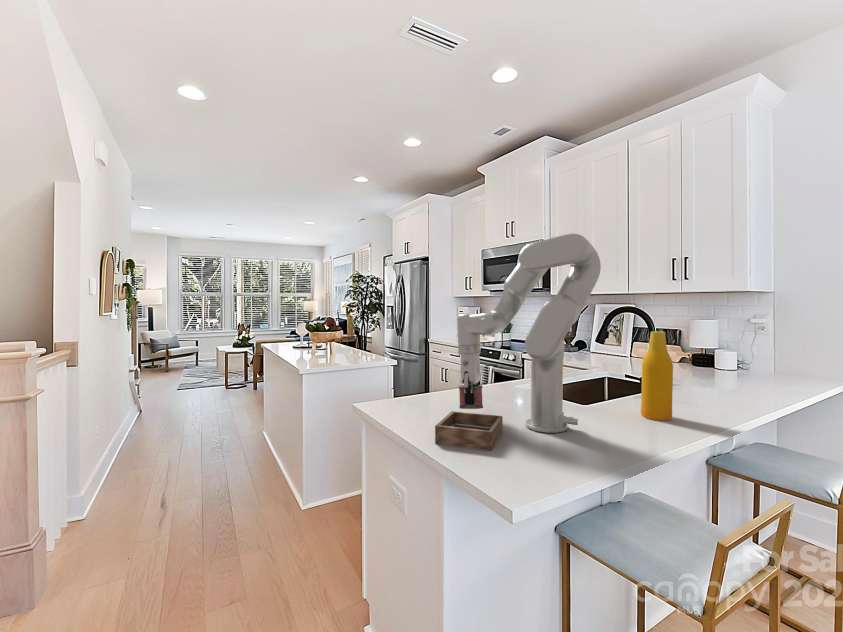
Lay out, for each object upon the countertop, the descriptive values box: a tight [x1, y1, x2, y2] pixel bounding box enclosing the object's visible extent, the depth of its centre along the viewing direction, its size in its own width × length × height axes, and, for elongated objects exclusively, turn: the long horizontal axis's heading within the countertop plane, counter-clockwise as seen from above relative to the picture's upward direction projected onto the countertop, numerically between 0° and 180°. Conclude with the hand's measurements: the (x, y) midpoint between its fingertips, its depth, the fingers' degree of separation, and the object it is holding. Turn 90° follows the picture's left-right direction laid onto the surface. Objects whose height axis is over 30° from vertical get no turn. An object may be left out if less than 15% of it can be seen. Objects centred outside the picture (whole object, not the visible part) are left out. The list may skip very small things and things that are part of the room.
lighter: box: [458, 381, 484, 410], centre depth 142 cm, size 8×3×10 cm, turn 83°
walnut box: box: [434, 410, 504, 452], centre depth 121 cm, size 16×16×5 cm
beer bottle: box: [640, 331, 674, 422], centre depth 140 cm, size 9×9×29 cm
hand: (471, 402), depth 142 cm, fingers closed on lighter, 3 cm apart
